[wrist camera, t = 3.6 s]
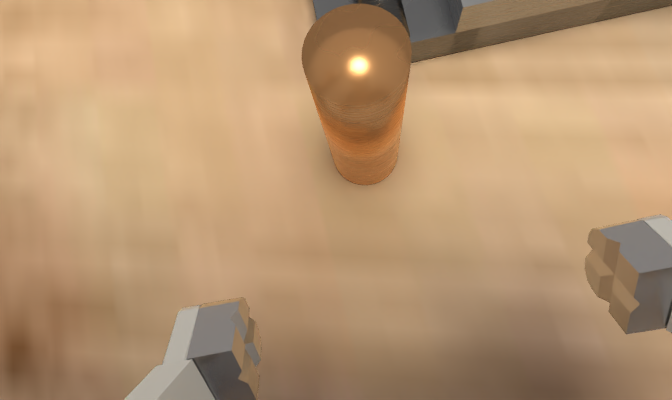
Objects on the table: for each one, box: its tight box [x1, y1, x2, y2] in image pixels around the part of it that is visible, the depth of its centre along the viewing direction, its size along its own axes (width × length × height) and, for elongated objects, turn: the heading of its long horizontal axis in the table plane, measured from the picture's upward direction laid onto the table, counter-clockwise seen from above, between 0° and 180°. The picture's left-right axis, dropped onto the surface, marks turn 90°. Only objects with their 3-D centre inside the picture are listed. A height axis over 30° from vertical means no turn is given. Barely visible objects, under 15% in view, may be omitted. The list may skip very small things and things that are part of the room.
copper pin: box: [302, 4, 412, 185], centre depth 18 cm, size 3×3×10 cm
